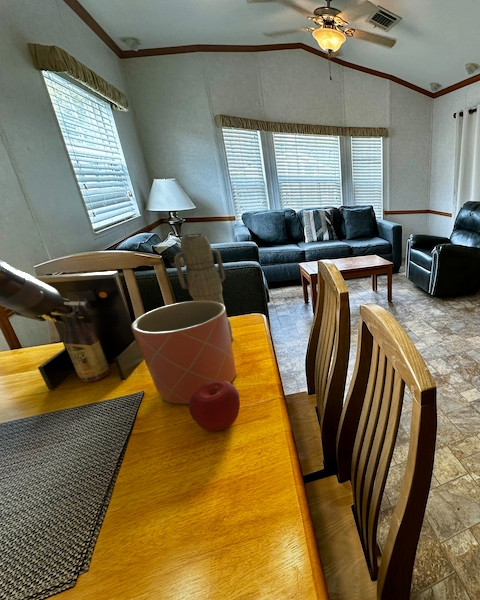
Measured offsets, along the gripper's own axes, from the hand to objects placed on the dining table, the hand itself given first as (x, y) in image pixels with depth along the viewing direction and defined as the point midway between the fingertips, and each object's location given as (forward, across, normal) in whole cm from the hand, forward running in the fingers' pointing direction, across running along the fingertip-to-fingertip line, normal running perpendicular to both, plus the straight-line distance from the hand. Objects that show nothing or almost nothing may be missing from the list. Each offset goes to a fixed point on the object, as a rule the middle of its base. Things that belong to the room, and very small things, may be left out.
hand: (80, 320), depth 85 cm
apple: (-10, -37, +33) cm, 51 cm away
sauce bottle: (+10, 0, +13) cm, 16 cm away
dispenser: (+11, 0, +11) cm, 16 cm away
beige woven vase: (+19, -27, +4) cm, 34 cm away
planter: (+3, -28, +20) cm, 35 cm away
